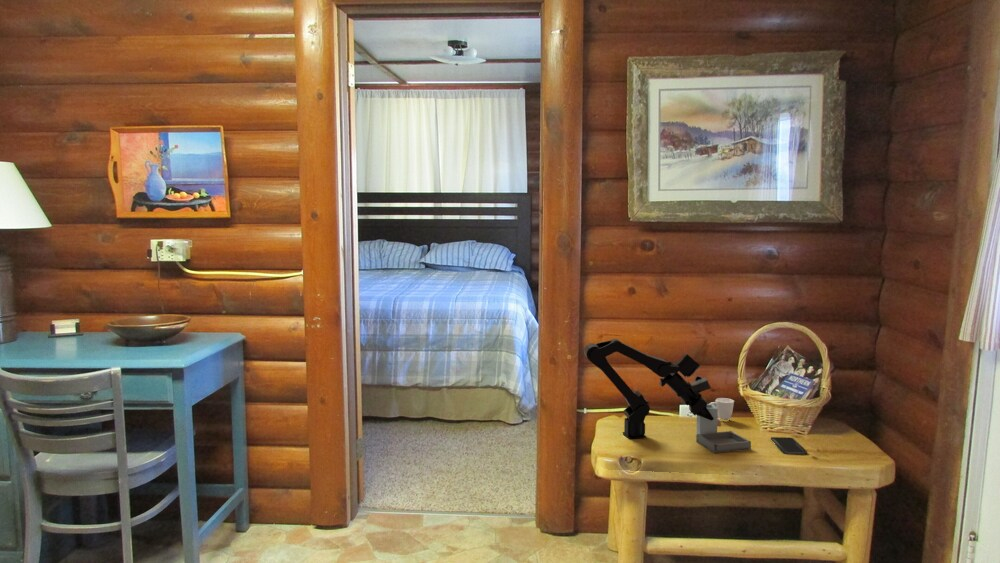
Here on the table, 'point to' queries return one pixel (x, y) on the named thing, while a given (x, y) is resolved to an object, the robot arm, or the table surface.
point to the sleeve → (708, 421)
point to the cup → (724, 407)
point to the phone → (789, 446)
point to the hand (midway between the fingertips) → (711, 416)
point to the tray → (723, 442)
